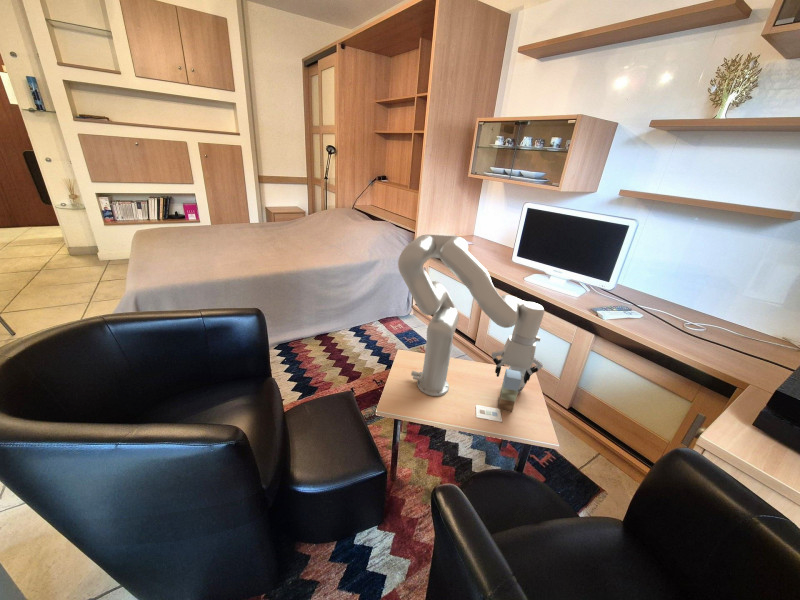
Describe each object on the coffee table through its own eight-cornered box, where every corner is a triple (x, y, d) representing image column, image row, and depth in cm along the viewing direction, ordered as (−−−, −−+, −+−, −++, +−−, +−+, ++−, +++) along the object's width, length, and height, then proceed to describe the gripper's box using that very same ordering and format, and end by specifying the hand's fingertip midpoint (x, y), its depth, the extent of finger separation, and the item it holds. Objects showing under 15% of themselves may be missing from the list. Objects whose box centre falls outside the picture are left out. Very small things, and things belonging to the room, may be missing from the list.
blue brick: (503, 379, 123) (506, 368, 121) (517, 382, 122) (520, 371, 120) (503, 388, 118) (506, 376, 116) (518, 391, 117) (521, 380, 115)
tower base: (498, 409, 123) (503, 387, 119) (498, 400, 127) (503, 379, 123) (511, 412, 122) (518, 391, 118) (511, 403, 126) (517, 382, 122)
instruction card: (476, 417, 118) (476, 416, 118) (475, 405, 124) (475, 404, 124) (501, 422, 117) (502, 421, 117) (500, 409, 123) (500, 408, 122)
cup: (511, 396, 130) (517, 376, 125) (500, 383, 137) (505, 363, 132) (528, 394, 132) (535, 374, 128) (517, 381, 139) (522, 361, 135)
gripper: (548, 337, 113) (534, 377, 121) (497, 326, 117) (487, 366, 124) (551, 349, 107) (537, 390, 114) (497, 337, 110) (486, 378, 117)
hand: (511, 377), depth 119 cm, fingers open, 9 cm apart
